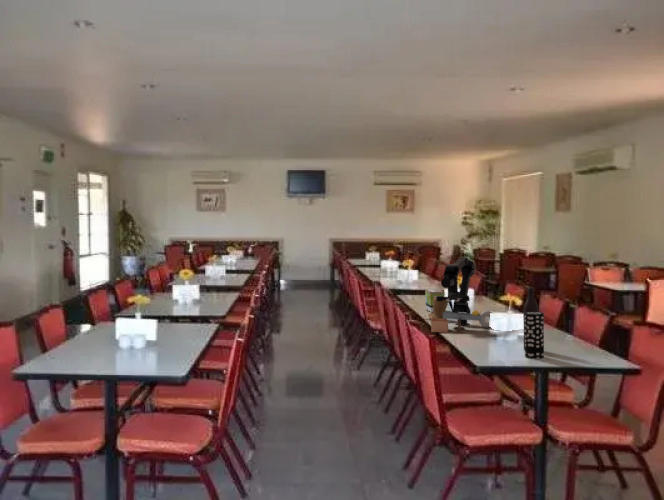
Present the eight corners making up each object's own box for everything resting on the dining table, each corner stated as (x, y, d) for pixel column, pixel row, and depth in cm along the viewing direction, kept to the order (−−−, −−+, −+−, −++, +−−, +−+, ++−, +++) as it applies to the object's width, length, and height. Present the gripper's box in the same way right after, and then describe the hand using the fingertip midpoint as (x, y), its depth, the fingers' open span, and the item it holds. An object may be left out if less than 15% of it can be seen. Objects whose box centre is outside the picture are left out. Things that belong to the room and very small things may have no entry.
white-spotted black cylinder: (522, 355, 309) (521, 312, 309) (539, 354, 310) (539, 311, 309) (528, 359, 301) (528, 314, 300) (546, 358, 302) (546, 314, 301)
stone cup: (449, 321, 418) (449, 297, 417) (430, 321, 419) (429, 297, 418) (446, 318, 433) (446, 294, 432) (427, 318, 434) (427, 295, 433)
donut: (494, 327, 392) (494, 310, 392) (496, 327, 389) (496, 310, 389) (477, 327, 391) (477, 310, 390) (480, 328, 387) (480, 311, 387)
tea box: (425, 310, 473) (424, 289, 472) (439, 309, 474) (438, 288, 473) (430, 312, 458) (430, 291, 457) (444, 312, 459) (444, 290, 459)
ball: (473, 316, 384) (474, 309, 383) (479, 318, 381) (481, 311, 381) (470, 316, 380) (471, 309, 380) (476, 318, 378) (478, 311, 378)
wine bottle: (522, 349, 325) (521, 287, 323) (536, 348, 324) (536, 286, 323) (525, 351, 317) (525, 288, 316) (541, 351, 317) (540, 288, 316)
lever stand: (464, 328, 389) (464, 314, 389) (465, 332, 374) (465, 318, 374) (453, 328, 390) (453, 314, 390) (454, 332, 375) (454, 318, 375)
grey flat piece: (478, 316, 392) (479, 311, 392) (480, 320, 376) (481, 315, 376) (442, 314, 395) (443, 309, 395) (443, 318, 379) (443, 313, 379)
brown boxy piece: (447, 329, 388) (447, 315, 388) (448, 332, 378) (448, 318, 378) (431, 329, 390) (431, 315, 390) (431, 332, 379) (430, 318, 379)
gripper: (436, 287, 385) (436, 315, 385) (469, 287, 382) (470, 315, 382) (436, 286, 396) (436, 312, 396) (468, 285, 393) (469, 312, 393)
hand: (453, 313), depth 392 cm, fingers closed
